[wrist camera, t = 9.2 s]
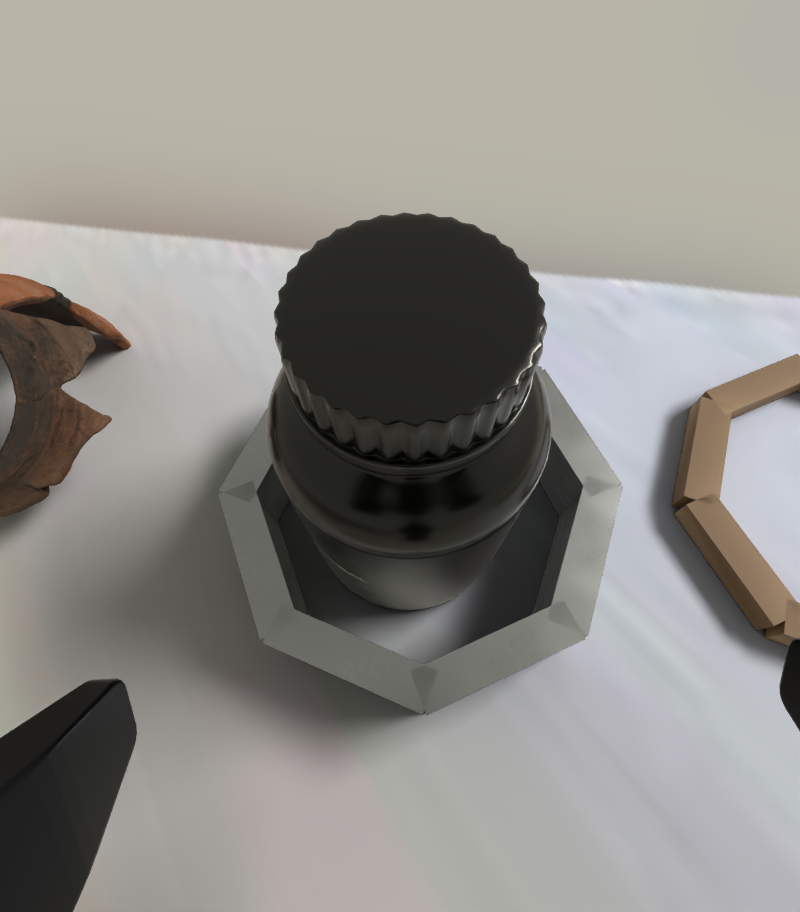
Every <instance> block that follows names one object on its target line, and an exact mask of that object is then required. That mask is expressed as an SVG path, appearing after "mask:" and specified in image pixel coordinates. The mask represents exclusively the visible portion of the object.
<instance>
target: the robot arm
mask: <svg viewBox="0 0 800 912" xmlns="http://www.w3.org/2000/svg"><path fill="white" fill-rule="evenodd" d="M780 696H781V699H782V702H783V704H784V706H785V708H786V710H787V712H788V713H789V715H790V716H791V718H792V720H793V721H794V723H795V724H796V726H797V727H798V729H799V731H800V638H796V639H793V640H792V641H791V642H790V644H789V645H788V648H787V653H786V658H785V662H784V667H783V672H782V677H781V681H780ZM136 734H137V730H136V723H135V719H134V715H133V711H132V708H131V704H130V700H129V697H128V693H127V689H126V686H125V684H124V683H123V682H122V681H121V680H119V679H99V680H91V681H87V682H85V683H84V684H82V685H81V686H79V687H77V688H76V689H74V690H73V691H71V692H70V693H68V694H67V695H65V696H64V697H62V698H61V699H59V700H58V701H56V702H55V703H53V704H52V705H50V706H48V707H47V708H45V709H44V710H42V711H41V712H39V713H38V714H36V715H35V716H33V717H32V718H30V719H29V720H27V721H26V722H24V723H23V724H21V725H20V726H18V727H16V728H15V729H13V730H12V731H10V732H9V733H7V734H6V735H4V736H3V737H1V738H0V912H73V910H74V908H75V906H76V904H77V901H78V899H79V897H80V894H81V892H82V890H83V887H84V885H85V883H86V880H87V878H88V876H89V873H90V871H91V868H92V865H93V863H94V860H95V857H96V855H97V852H98V849H99V846H100V843H101V841H102V838H103V835H104V832H105V829H106V826H107V823H108V821H109V818H110V815H111V812H112V809H113V806H114V803H115V801H116V798H117V795H118V792H119V789H120V786H121V783H122V780H123V778H124V775H125V772H126V769H127V766H128V763H129V760H130V758H131V755H132V752H133V749H134V746H135V742H136Z"/></svg>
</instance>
